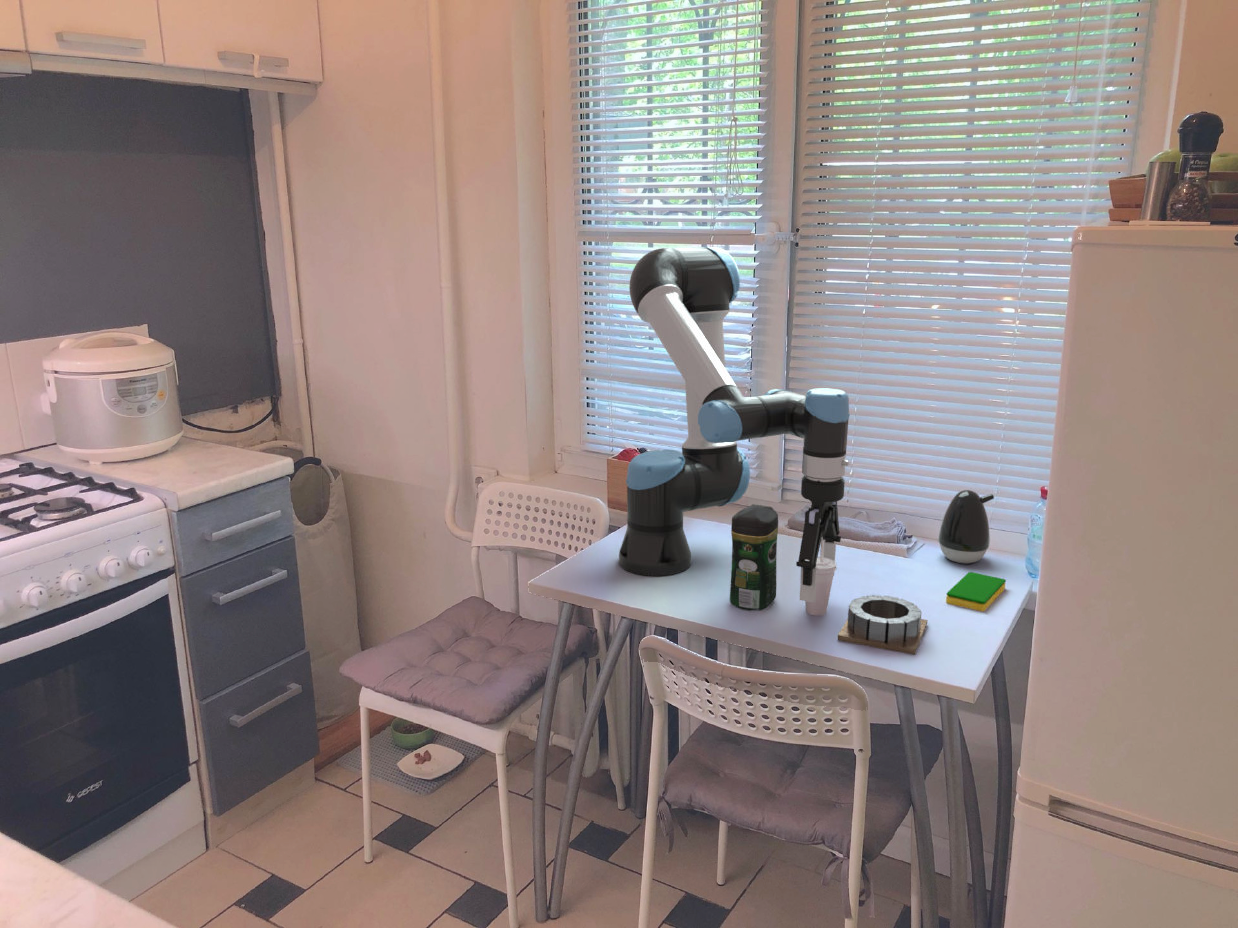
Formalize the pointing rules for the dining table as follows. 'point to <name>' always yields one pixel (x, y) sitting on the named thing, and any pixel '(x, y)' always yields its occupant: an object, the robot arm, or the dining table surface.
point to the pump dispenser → (965, 528)
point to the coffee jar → (754, 557)
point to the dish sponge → (975, 591)
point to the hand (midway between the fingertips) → (817, 587)
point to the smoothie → (822, 584)
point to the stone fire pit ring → (884, 624)
